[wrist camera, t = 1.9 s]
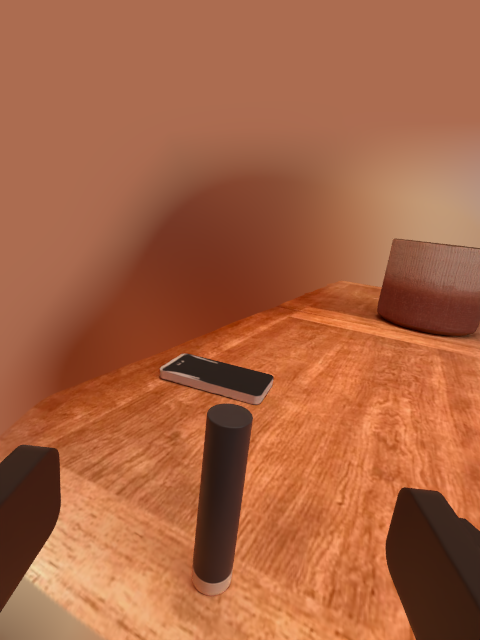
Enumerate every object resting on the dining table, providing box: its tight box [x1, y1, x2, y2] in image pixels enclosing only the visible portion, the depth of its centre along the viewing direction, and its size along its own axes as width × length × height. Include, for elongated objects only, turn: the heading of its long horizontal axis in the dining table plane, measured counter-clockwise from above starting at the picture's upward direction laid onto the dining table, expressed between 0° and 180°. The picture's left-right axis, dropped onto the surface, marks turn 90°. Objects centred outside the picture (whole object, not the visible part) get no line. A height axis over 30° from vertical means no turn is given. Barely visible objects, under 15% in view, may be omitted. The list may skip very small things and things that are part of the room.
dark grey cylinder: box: [192, 404, 253, 596], centre depth 22 cm, size 3×3×12 cm
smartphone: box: [160, 354, 273, 405], centre depth 52 cm, size 8×1×15 cm
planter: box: [377, 239, 480, 336], centre depth 98 cm, size 25×25×22 cm
